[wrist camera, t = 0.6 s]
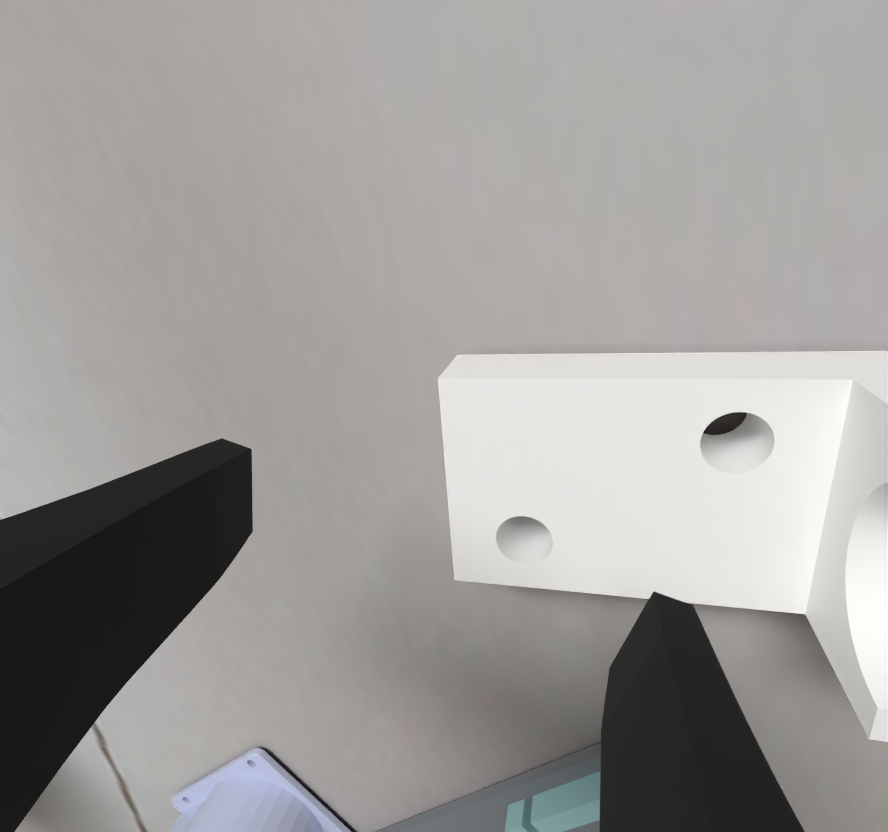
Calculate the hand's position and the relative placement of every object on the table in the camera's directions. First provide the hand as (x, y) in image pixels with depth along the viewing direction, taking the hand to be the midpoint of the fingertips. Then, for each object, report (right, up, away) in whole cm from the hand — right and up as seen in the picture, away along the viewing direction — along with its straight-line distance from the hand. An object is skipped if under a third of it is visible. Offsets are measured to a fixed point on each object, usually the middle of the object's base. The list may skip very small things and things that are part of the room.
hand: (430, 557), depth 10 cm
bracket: (+8, +1, +9) cm, 12 cm away
